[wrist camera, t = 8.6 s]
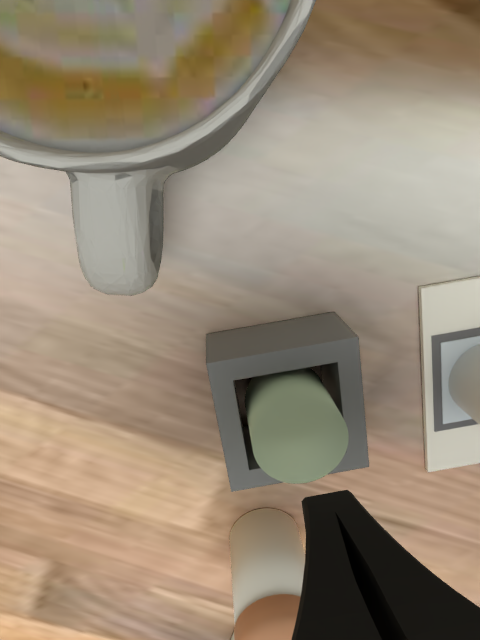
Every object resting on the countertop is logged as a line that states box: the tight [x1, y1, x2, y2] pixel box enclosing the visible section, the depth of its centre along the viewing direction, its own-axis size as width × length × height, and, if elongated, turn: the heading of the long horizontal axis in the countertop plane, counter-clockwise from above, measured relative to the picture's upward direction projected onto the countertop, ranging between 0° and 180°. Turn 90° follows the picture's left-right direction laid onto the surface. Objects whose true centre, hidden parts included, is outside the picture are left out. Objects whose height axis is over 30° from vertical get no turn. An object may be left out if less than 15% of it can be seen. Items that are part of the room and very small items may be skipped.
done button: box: [245, 367, 349, 484], centre depth 18 cm, size 4×4×4 cm
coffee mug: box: [0, 0, 316, 296], centre depth 13 cm, size 13×10×10 cm
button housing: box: [206, 312, 369, 492], centre depth 20 cm, size 6×6×4 cm
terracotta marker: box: [229, 508, 305, 640], centre depth 21 cm, size 4×4×7 cm
